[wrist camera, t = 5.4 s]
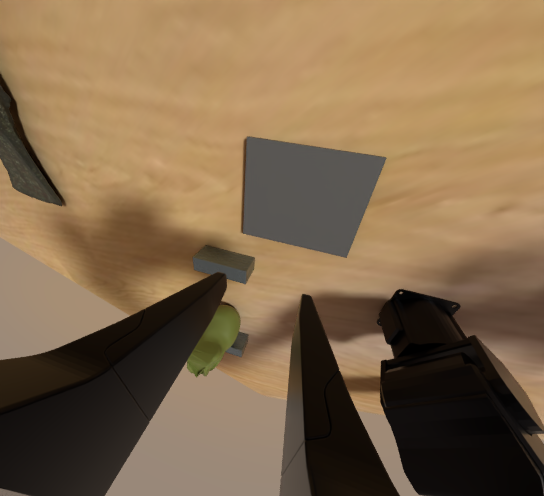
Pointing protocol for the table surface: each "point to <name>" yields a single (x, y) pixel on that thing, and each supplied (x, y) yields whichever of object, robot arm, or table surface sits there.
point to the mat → (307, 194)
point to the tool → (21, 159)
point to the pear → (215, 341)
